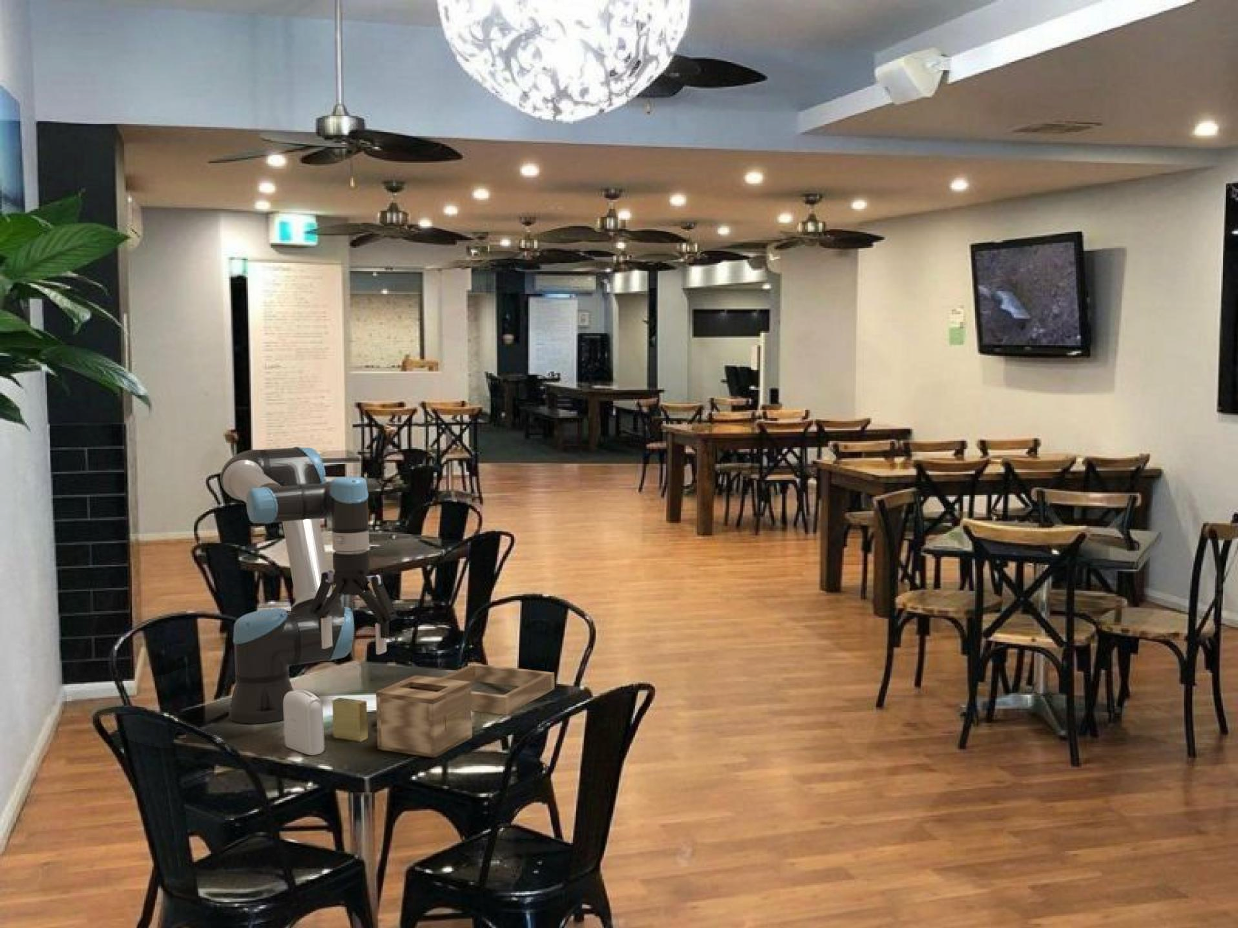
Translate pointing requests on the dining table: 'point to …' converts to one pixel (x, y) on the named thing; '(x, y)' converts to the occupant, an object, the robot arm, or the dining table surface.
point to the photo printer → (303, 722)
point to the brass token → (350, 719)
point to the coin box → (424, 715)
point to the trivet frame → (526, 680)
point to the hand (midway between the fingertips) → (354, 650)
